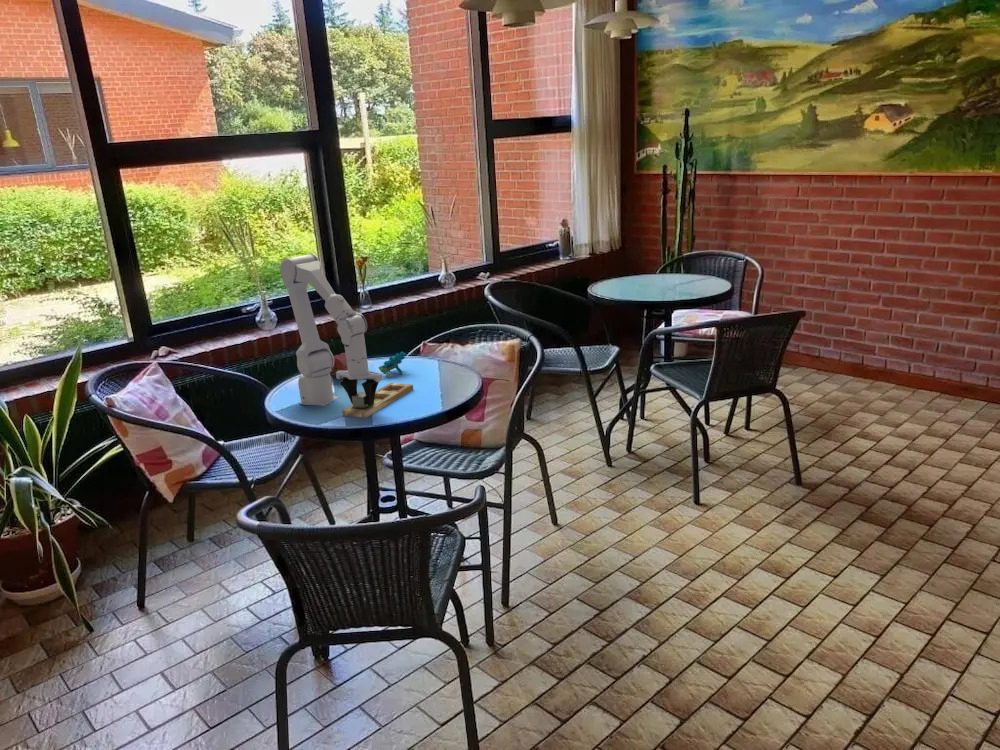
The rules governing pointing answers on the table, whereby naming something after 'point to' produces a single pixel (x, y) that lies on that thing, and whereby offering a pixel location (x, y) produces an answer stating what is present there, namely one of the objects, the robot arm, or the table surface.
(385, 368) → the teal toy dinosaur
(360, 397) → the block
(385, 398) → the hole board
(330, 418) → the table surface
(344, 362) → the flower
